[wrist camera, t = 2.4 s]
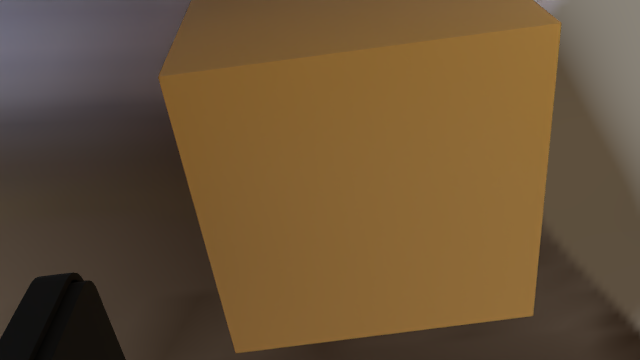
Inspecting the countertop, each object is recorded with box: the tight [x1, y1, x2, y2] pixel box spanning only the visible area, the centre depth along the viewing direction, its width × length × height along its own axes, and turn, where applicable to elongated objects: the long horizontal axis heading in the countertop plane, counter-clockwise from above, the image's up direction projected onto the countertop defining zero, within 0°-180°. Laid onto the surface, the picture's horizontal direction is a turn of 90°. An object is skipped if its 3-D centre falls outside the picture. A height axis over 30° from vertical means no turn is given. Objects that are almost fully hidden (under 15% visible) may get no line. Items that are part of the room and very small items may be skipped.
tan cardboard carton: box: [158, 0, 561, 353], centre depth 13 cm, size 6×6×5 cm
